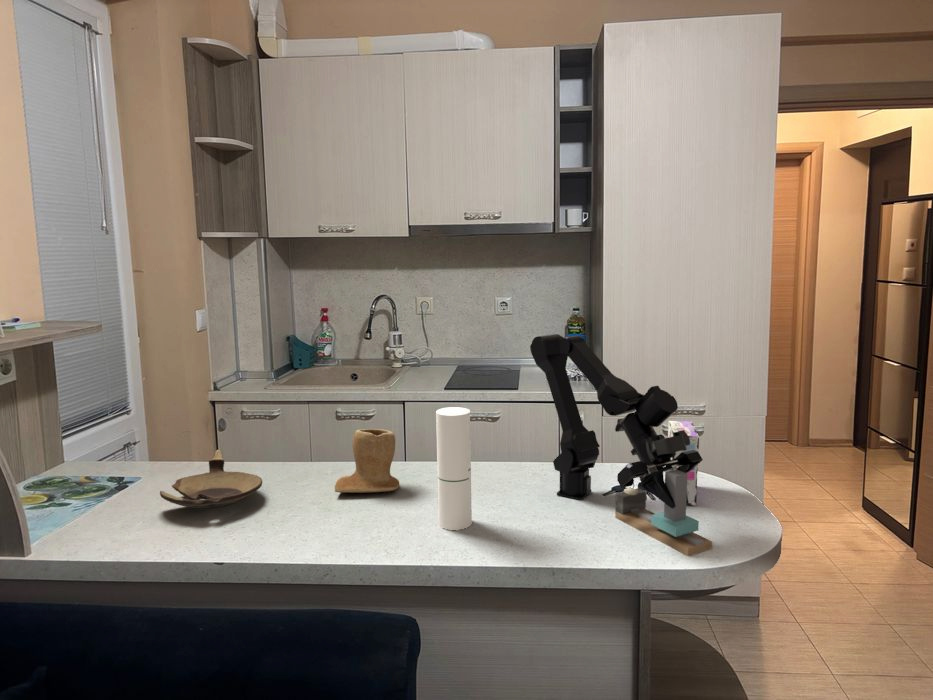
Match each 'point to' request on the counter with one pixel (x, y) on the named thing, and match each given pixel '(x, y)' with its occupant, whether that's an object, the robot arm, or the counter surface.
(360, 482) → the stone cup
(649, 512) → the rail
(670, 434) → the candy box
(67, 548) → the counter surface
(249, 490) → the oil lamp
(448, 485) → the cylindrical container
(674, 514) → the carriage
